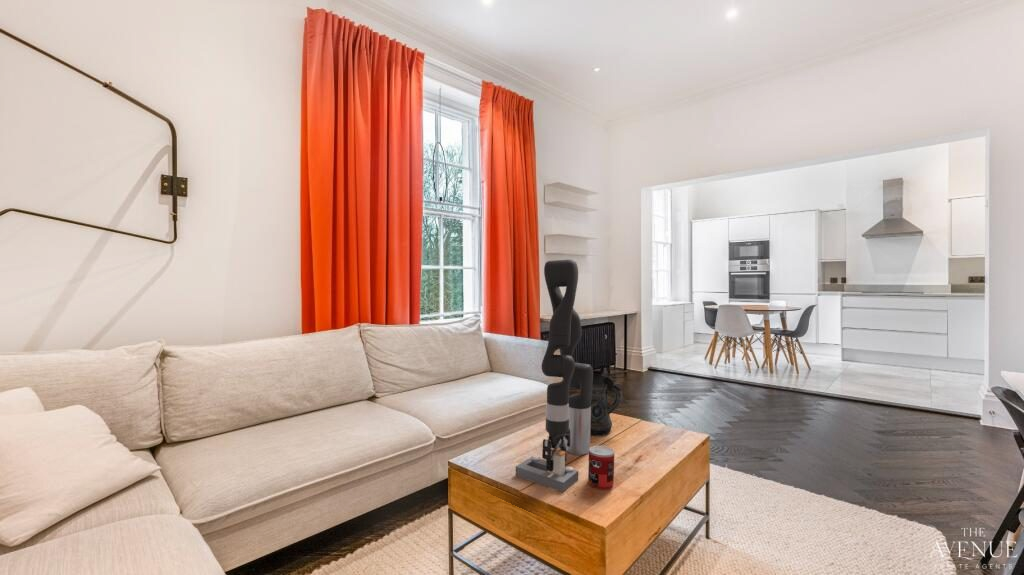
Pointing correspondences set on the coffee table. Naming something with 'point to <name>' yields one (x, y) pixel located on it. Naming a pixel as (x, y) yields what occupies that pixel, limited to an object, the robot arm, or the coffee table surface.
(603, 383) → the beer stein
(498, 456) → the coffee table surface
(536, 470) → the console
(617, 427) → the coffee table surface
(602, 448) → the canned food
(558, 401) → the robot arm
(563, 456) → the fader tab
